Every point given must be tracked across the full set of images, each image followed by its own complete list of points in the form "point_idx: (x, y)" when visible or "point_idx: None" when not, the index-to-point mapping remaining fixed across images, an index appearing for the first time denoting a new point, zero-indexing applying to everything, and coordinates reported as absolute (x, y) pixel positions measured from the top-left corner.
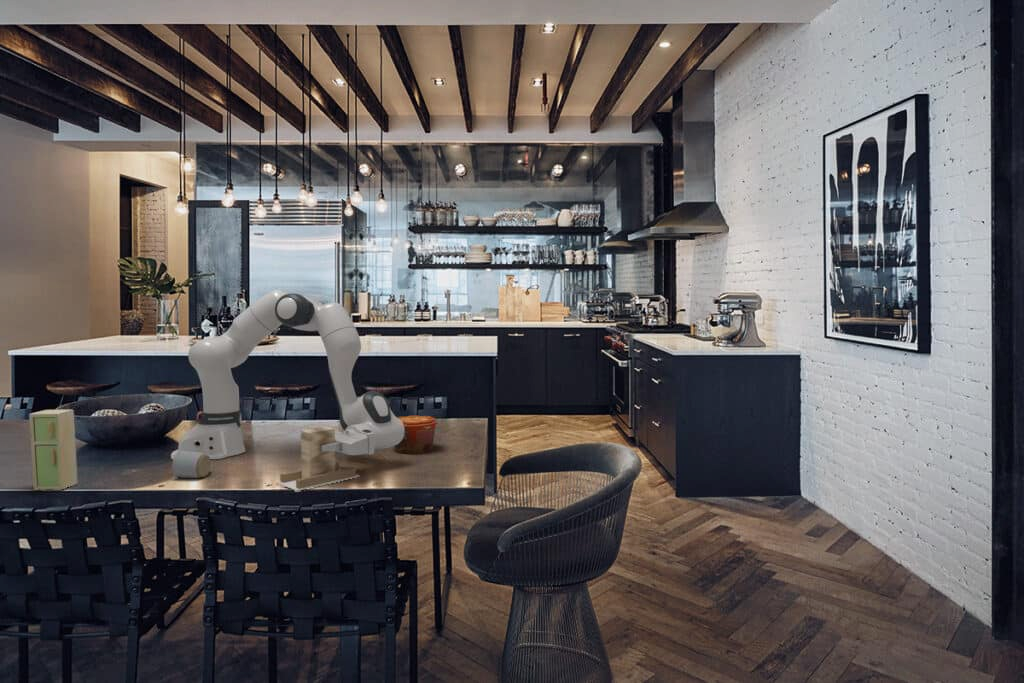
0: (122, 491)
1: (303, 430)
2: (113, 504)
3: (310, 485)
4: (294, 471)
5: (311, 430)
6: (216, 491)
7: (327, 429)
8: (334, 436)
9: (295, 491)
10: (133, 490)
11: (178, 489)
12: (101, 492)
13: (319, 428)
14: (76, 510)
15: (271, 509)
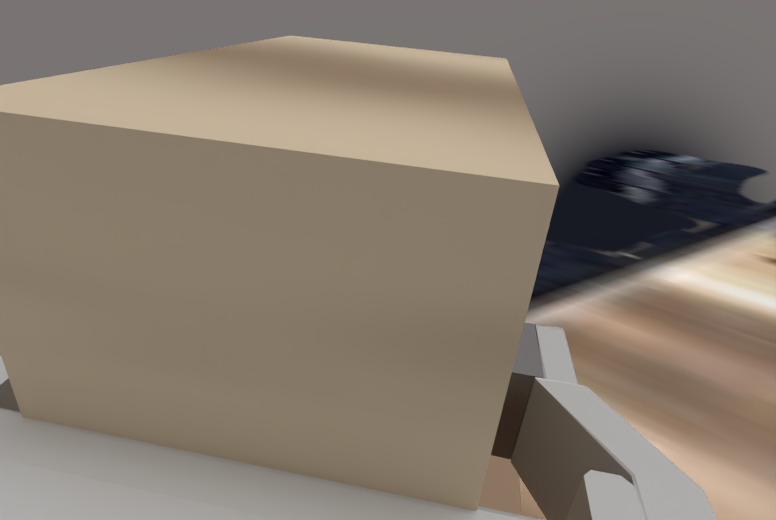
0: (751, 221)
1: (489, 60)
2: (618, 186)
3: None
4: (505, 460)
5: (391, 57)
6: (580, 278)
7: (152, 75)
8: (8, 340)
9: None
10: (750, 229)
11: (693, 259)
12: (765, 210)
13: (429, 93)
14: (614, 167)
15: None
